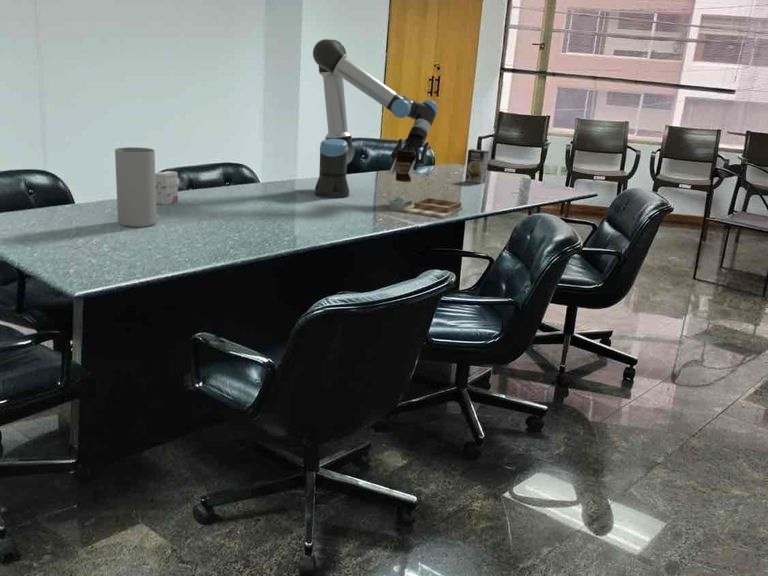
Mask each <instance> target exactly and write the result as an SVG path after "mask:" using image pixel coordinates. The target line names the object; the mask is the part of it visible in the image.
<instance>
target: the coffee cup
mask: <svg viewBox="0 0 768 576" xmlns="http://www.w3.org/2000/svg"><path fill="white" fill-rule="evenodd" d="M415 159H416V154H415V150H398V152H397V153H396V170H395V181H397V182H402V183H411V182H412V179H411V178H412V177H409V174H408V172H409V170H410V168H411V166H412V163H413V161H415V162H416V160H415Z"/></svg>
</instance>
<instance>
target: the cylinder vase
mask: <svg viewBox="0 0 768 576" xmlns="http://www.w3.org/2000/svg"><path fill="white" fill-rule="evenodd" d="M155 153H156V152H155V149H153V148H148V147H134V146H133V147H129V146H126V147H117V148H115V149H114V159H115V161H114V162H115V181H116V182H115V184H116V203H117V204H116V207H117V221H118V224H119V225H120V226H122V225H123V227H126V226H129V227H128V228H144V227H145V228H146V226H148V227H152V226H154V225H155V224H156V223H157V220H158V219H157V204H156V184H155V174H156V158H155V157H156V156H155V155H156V154H155ZM151 225H152V226H151Z"/></svg>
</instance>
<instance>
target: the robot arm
mask: <svg viewBox="0 0 768 576" xmlns="http://www.w3.org/2000/svg"><path fill="white" fill-rule="evenodd" d="M312 57H313V60H314V62H315V63H316V64H317V66H318V74H319V75H321V76H322V79H323V80H322V81H323V91H324V102H325V110H326V122H327V134H326V135H325V136H324V137H325V138H324V139H323V140H321V142H320V146H319V172H318V173H319V174H318V175H319V176H318V179H317V182H316V185H315V187H314V195H316V196H318V197H324V198H337V199H338V198H347V197H349V196H350V187H349V184H348V180H347V167H348V166H347V165H349V164H351V162H352V161H353V159H354V156H355V154H356V153H355V146H354V144H353V141H352V139H353V138H352V134H351V133H350V132H349V131H348V121H347V120H348V119H347V111H346V108H347V107H346V100H345V99H346V98H345V97H346V96H345V87H344V80H345V81H346V82H348V83H349V84H351V85H352V86H354V87H355V88H356V89H358V90H359V91H361V92H362V93H364V94H365V95H367V96H368V97H369V98H371V99H372V100H374V101H375V102H376V103H378V104H379V105H381V106H383V107H384V108H385V109H386V110H387V111H389V112H391V114H393V116H395V117H396V118H399V119H404V118H406V117H407V118H409V119H412V120H414V121H413V124H412V126H411V129H410V130H409V132H408V135H407V138H405V139H402V138H399V139H398V142H397V144H396V146H395V148H394V149H393V151H392V152H391V153H390V158H391V160H392V162H391V168H390V173H391V175H394V174H395V173H396V153H397V152H398V150H413V151H415V152H414V153H415V154H416V158H415V161H413V163H412V166H411V168H410V170H409V172H408V174H409V177H411V178H412V177H413V174H414V172H415V171H417V170H418V168H419V165H424V164H425V161H426V157H427V153H428V150H429V148H430V144H429V142H425V141H426V139H427V138H428V135H429V134H430V133H429V132H430V131H431V128H432V125H433V123H434V121H435V118H436V116H437V115H438V114H437V113H438V111H439V107H438V104H437V103H436V102H435V101H433V100H428V99H426V100H424V101H423V102H419V101H416V100H414V99H412V98H409V97H407V96H405V95H402V94H398V93H397V92H395V91H394V90H393V89H391V88H390V87H388V86H387V85H386V84H384V83H383V82H381V81H380V80H379V79H377V78H376V77H374V76H372V75H371V74H370V73H369V72H367V71H365V70H364V69H362V68H361V67H360V66H359V65H357V64H356V63H354V62H353V61H351V60H350V59H349V58H348V57H347V50H346V48H345V46H344V44H342V43H341V42H340V41H338V40H336V39H331V38H330V39H329V38H327V39H325V38H324V39H321V40H319V41H318V42H316V43H315V45H314V46H313V50H312ZM422 147H423V148H422ZM421 148H422V151H421V155H420V149H421Z"/></svg>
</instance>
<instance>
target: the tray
mask: <svg viewBox="0 0 768 576" xmlns="http://www.w3.org/2000/svg"><path fill="white" fill-rule="evenodd" d="M462 210H463V206H462V202H460V201H456V200H455V201H453V200H446V199H442V198H433V197H425V198H424V199H421V200H419V201H415V202H414V203H413V204H411V207H408V208H406V209H402V211H401V213H406V212H407V213H408V214H413V213H415V214H414V215H419V214H421V215H420V216H426V215H427V217H433V218H439V219H440V218H441V219H445V218H448V217H449V216H451V214H452V215H453V214H455V213H458V212H461V211H462Z"/></svg>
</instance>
